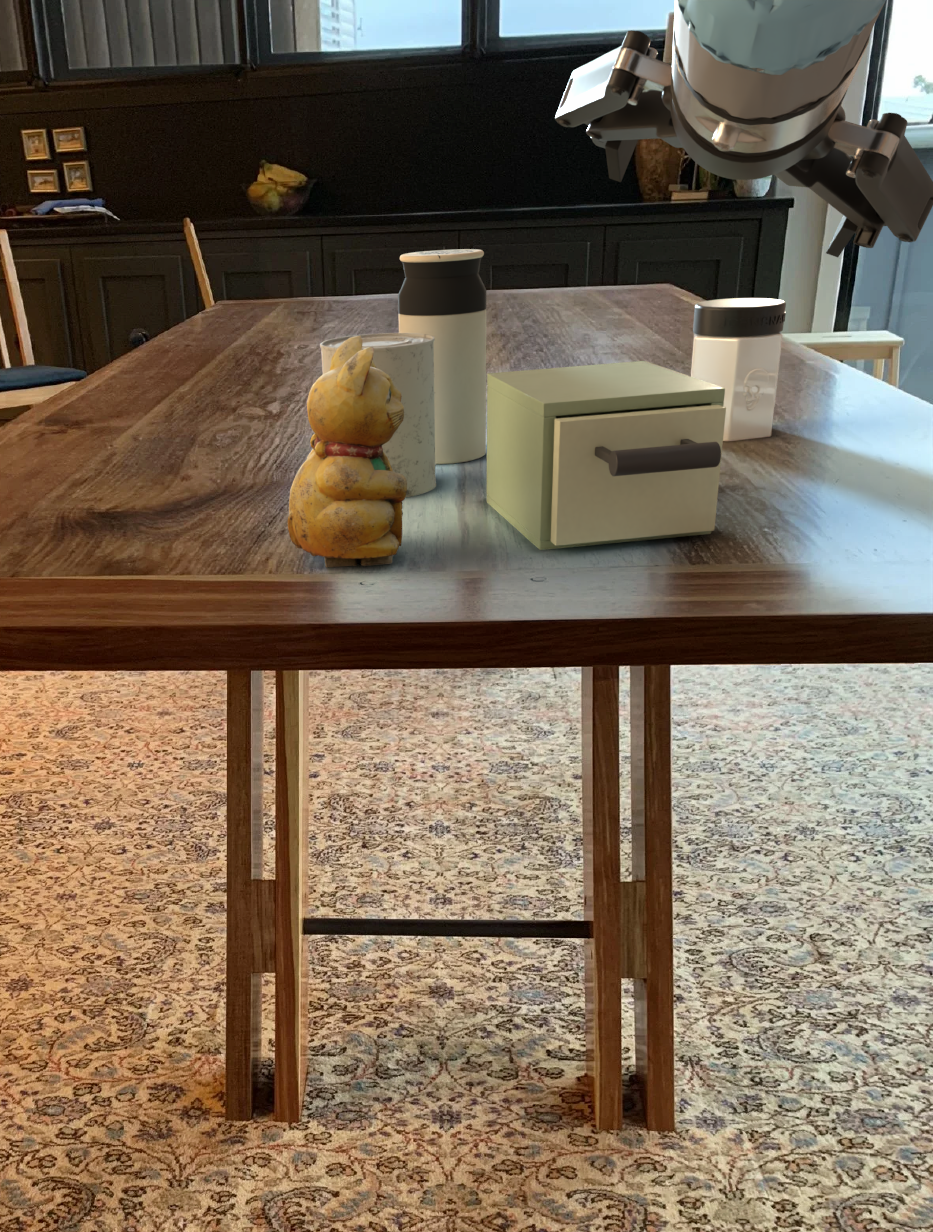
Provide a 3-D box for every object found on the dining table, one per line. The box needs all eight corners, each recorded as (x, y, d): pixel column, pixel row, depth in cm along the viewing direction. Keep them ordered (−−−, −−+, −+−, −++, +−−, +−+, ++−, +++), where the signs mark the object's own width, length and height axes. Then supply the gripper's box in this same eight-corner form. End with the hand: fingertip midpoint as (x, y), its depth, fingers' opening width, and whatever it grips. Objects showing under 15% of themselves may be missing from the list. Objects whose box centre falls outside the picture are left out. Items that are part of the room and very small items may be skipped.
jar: (708, 446, 113) (721, 310, 107) (665, 432, 120) (674, 303, 114) (792, 437, 115) (809, 301, 109) (744, 423, 122) (758, 295, 116)
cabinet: (711, 537, 87) (725, 388, 82) (539, 553, 85) (543, 403, 80) (636, 491, 100) (644, 360, 95) (486, 505, 98) (487, 373, 94)
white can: (430, 502, 100) (428, 346, 94) (318, 503, 102) (309, 350, 96) (442, 476, 108) (440, 331, 103) (338, 477, 110) (331, 335, 104)
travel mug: (458, 446, 120) (457, 248, 111) (501, 459, 113) (503, 250, 105) (387, 457, 117) (381, 255, 108) (428, 471, 110) (424, 257, 102)
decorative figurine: (421, 574, 83) (416, 343, 76) (304, 588, 81) (288, 354, 74) (386, 538, 91) (379, 327, 84) (279, 550, 90) (263, 337, 83)
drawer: (744, 548, 80) (759, 419, 76) (578, 565, 79) (583, 434, 75) (642, 488, 97) (650, 379, 93) (503, 501, 95) (504, 391, 91)
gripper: (460, 66, 54) (512, 191, 74) (1006, 250, 50) (905, 329, 70) (526, -121, 52) (562, 60, 72) (1103, 58, 48) (970, 196, 68)
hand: (731, 194), depth 71 cm, fingers open, 13 cm apart
